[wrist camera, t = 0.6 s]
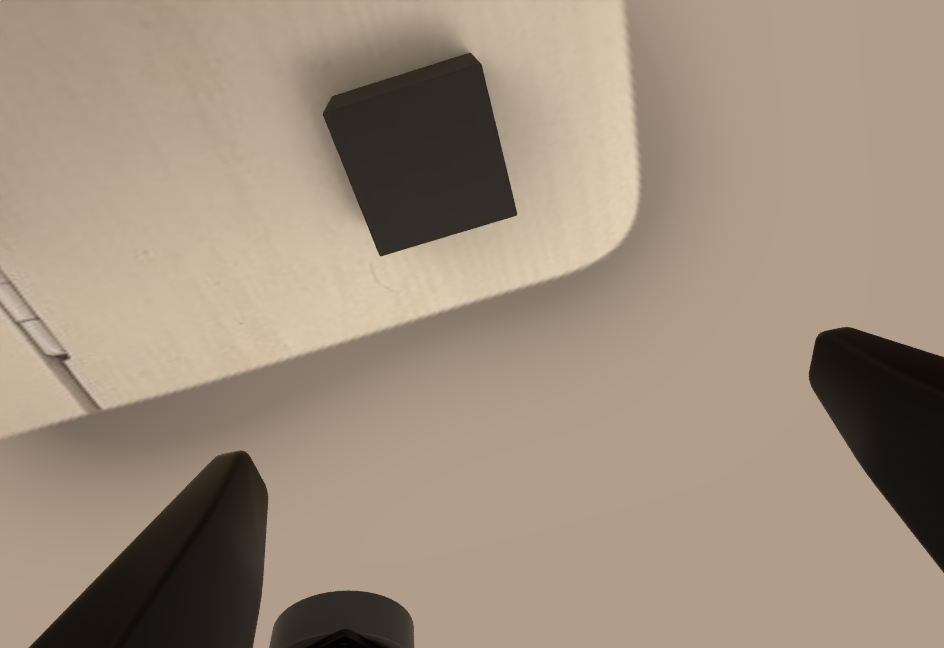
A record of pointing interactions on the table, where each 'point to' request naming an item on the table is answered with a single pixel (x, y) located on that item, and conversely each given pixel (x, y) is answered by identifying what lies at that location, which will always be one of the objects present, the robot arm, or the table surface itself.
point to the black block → (423, 154)
